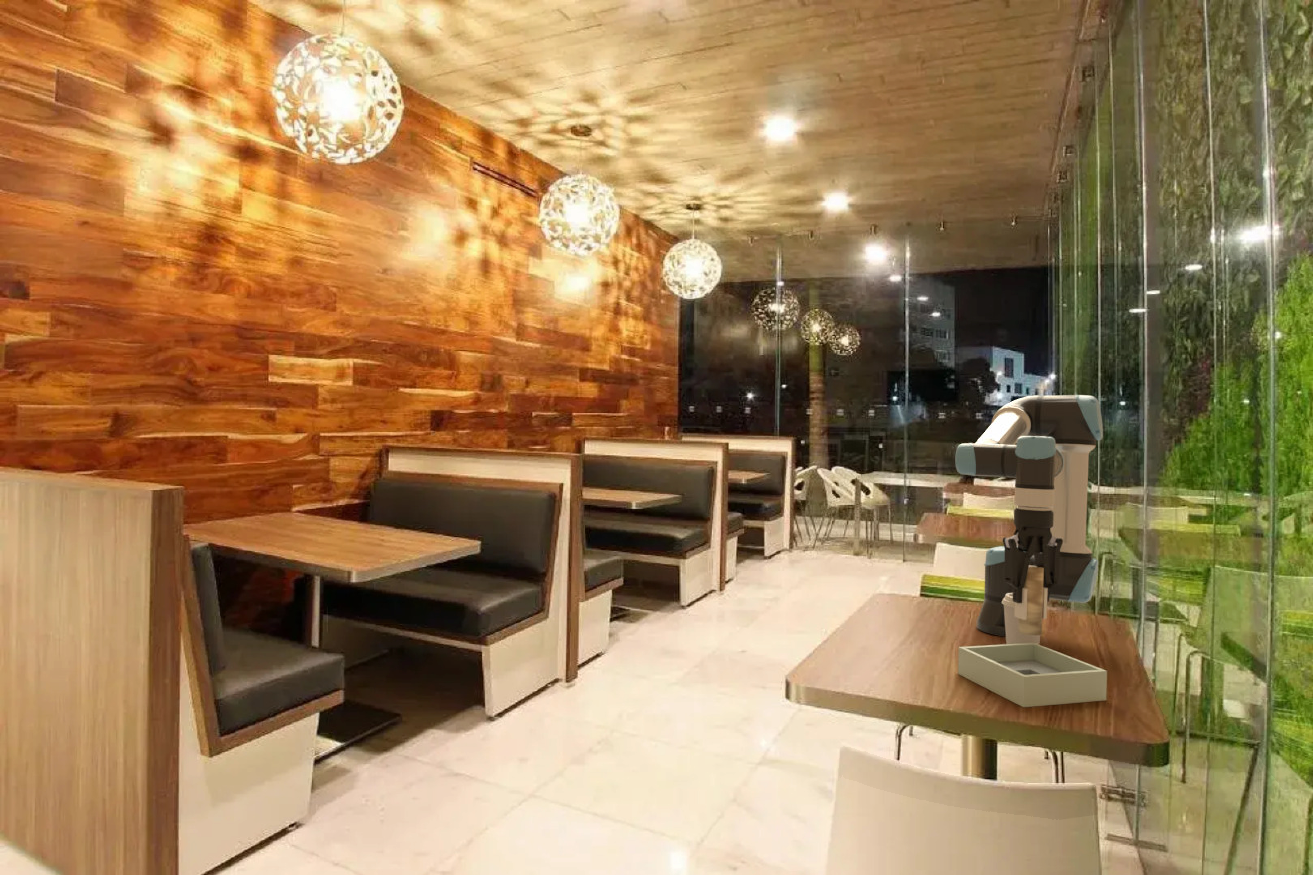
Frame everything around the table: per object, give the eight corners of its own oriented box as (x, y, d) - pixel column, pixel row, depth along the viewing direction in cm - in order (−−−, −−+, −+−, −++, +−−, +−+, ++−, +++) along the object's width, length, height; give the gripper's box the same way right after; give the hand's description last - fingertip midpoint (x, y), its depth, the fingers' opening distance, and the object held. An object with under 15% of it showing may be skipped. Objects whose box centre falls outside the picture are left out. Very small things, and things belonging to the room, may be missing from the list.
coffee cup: (1040, 655, 179) (1042, 594, 179) (1047, 667, 170) (1049, 602, 170) (997, 650, 182) (999, 590, 182) (1002, 661, 173) (1004, 598, 173)
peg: (1031, 629, 159) (1033, 565, 159) (1046, 634, 155) (1048, 568, 155) (1013, 630, 158) (1015, 565, 158) (1029, 635, 153) (1031, 569, 153)
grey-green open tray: (1033, 668, 169) (1033, 642, 169) (1106, 700, 149) (1107, 670, 149) (957, 673, 164) (958, 647, 164) (1023, 707, 144) (1024, 676, 144)
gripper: (1054, 506, 162) (1051, 612, 162) (986, 506, 158) (983, 614, 158) (1081, 510, 155) (1078, 620, 155) (1011, 510, 150) (1008, 623, 150)
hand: (1030, 617), depth 156 cm, fingers closed on peg, 4 cm apart
